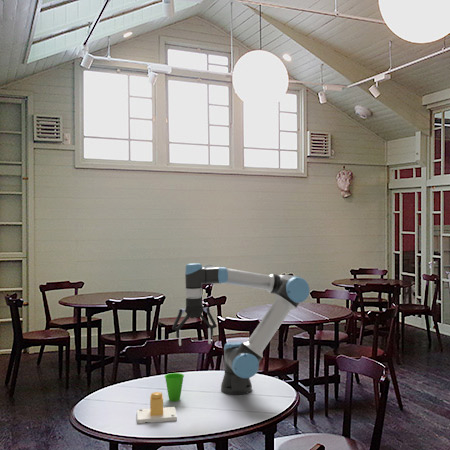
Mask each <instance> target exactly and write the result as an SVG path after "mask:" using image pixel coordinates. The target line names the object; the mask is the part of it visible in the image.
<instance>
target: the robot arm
mask: <svg viewBox="0 0 450 450" xmlns="http://www.w3.org/2000/svg"><path fill="white" fill-rule="evenodd" d="M184 275H185V276H184V277H185V278H184V279H185V297H186V298H185V308H181V307H180V308H178V314H177V316H176V318H175V321H174V323H173V325H172V327H171V328H172V330H174V331H175V332H176V333H175V334H176V335H175V337H176V339H178V345H179V346H182V331H181V329H182V327H184V325H185V324H186V322H187V321H188V320H189V319H194V318H195V319H198V318H201V320H202V321H203V322H204V323H205V324H206V325H207V326H208V328H207V335H208V339H207V340H208V342H207V343H208V345H211V344H212V336H214V329H215V328H217V327H218V325H217V323H216V322H215V320H214V318H213V315H212V314H211V310H210V307H208V306H206V307H203V285H209V284H211V285H213V284H216V285H217V284H219V285H220V284H227V285H230V286H231V285H233V286H240V287H244V288H251V289H255V290H256V289H257V290H263V291H267V293H268V294H274V295H275V300H274V301H273V303H272V304H271V306H270V307H269V309H268V310H267V311H266V313H265V314H264V316H263V317H262V319H261V320H260V322H259V323H258V324H257V326H256V328H255V329H254V330H253V332H252V334H250V336H249V338H248V339H247V340H246V341H236V342H235V341H233V342H226V343H225V344H224V347H223V351H224V353H223V354H224V357H223V359H224V361H223V362H224V375H223V378H222V381H221V385H220V390H221V391H220V392H222V393H225V394H228V395H244V394H243V393H245V394H248V393H247V392H249V393H251V392H252V391H253V385H252V381H251V378H252V377H254V376H255V375H256V374H257V373H258V371H259V368H260V363H261V361H262V359H263V357H264V356H263V355H264V354H263V352H264V350H265V349H266V347H267V346H268V345H269V343H270V341H271V340H272V338H273V337H274V336H275V334H276V333H277V331H278V330H279V328H280V326H281V325H282V324H283V322H284V321H285V319H286V318H287V316H288V314H289V313H290V312H291V310H296V308H298V307H299V304H300V303H303V302H306V300H307V299H308V298H309V295H310V292H311V289H310V286H309V282H308V281H306V279H305V278H303V277H301V276H298V275H292V274H275V273H271V274H263V273H258V272H252V271H251V272H250V271H245V270H239V269H235V268H233V269H232V268H227V267H225V266H216V265H215V266H214V265H212V264H211V265H210V264H208V265H205V266H202V264H201V263H197V262H196V263H193V262H192V263H187V264H186V265H185V274H184ZM203 312H205V313H206V314H207V316H208V319H209V320H210V322H211V323H210V322H209V321H208V320H207V319H206V318H205V316H203V315H202V314H203ZM185 313H186V315H185V316H184V318H182V315H183V314H185ZM181 318H182V320H181ZM180 320H181V322H180V323H179V321H180ZM251 390H252V391H251Z"/></svg>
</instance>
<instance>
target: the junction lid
mask: <svg viewBox="0 0 450 450" xmlns="http://www.w3.org/2000/svg"><path fill="white" fill-rule="evenodd" d="M136 411H137V412H136V413H137V414H136V415H137V416H136V418H137V420H136V421H137V423H138V424H146V423H145V422H151V423H162V422H176V421H177V420H178V416H177V411H176V408H175V406H168V407H163V415H155V416H151V414H150V408H140V409H136Z"/></svg>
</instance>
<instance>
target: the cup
mask: <svg viewBox="0 0 450 450" xmlns="http://www.w3.org/2000/svg"><path fill="white" fill-rule="evenodd" d="M184 376H185V375H184V374H183V373H179V372H173V373H172V372H170V373H167V374H165V375H164V378H165V384H166V389H167V390H166V391H167V397H168V400H169V401H170V402H179V401H180V400H181V396H182V390H183V389H182V388H183V381H184Z"/></svg>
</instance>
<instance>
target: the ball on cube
mask: <svg viewBox="0 0 450 450" xmlns="http://www.w3.org/2000/svg"><path fill="white" fill-rule="evenodd" d="M149 405H150V406H149V407H150V408H149V409H150V414H151V416H155V415H163V408H164V396H163V393H162V392H159V391H155V392H152V393H150V397H149Z"/></svg>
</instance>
